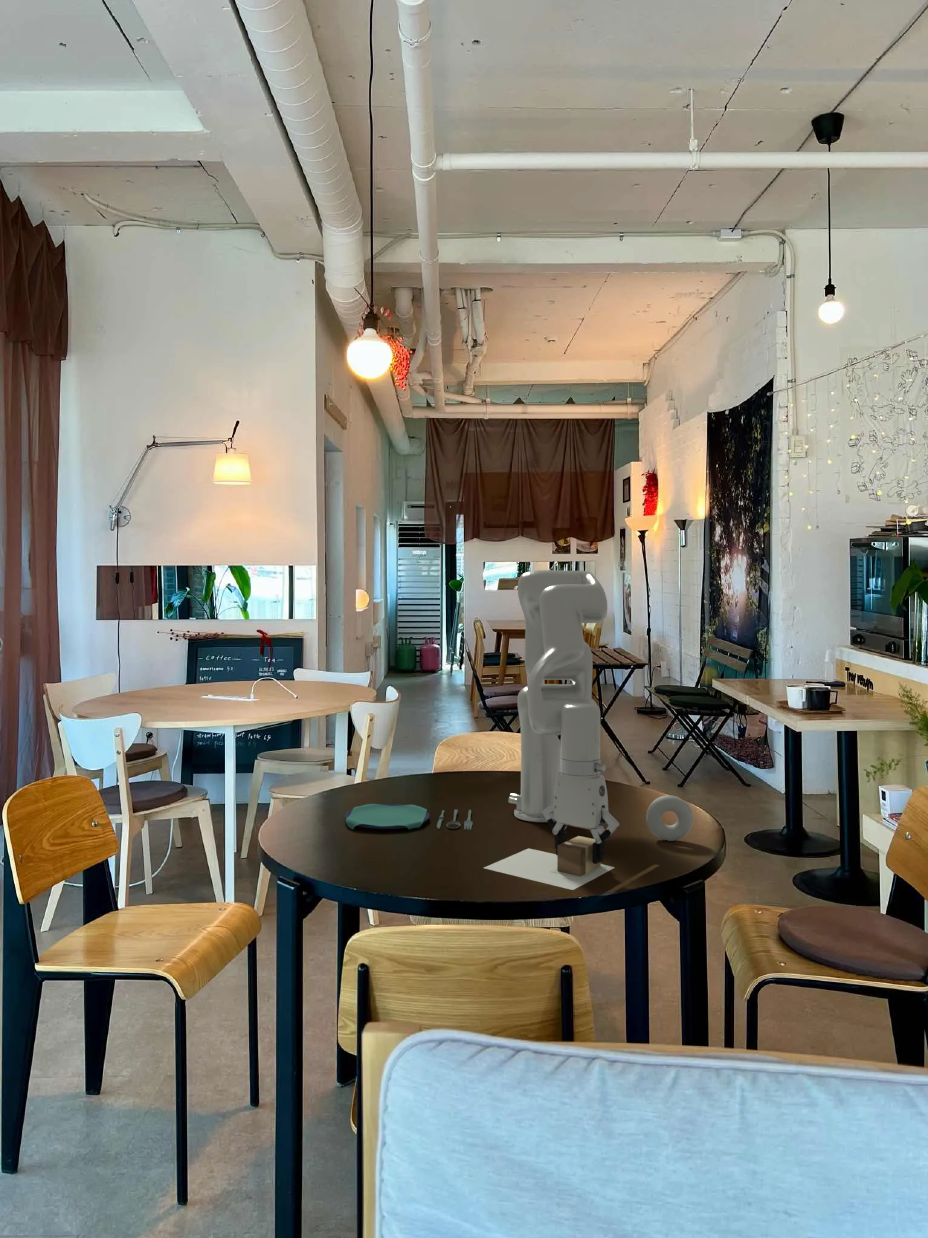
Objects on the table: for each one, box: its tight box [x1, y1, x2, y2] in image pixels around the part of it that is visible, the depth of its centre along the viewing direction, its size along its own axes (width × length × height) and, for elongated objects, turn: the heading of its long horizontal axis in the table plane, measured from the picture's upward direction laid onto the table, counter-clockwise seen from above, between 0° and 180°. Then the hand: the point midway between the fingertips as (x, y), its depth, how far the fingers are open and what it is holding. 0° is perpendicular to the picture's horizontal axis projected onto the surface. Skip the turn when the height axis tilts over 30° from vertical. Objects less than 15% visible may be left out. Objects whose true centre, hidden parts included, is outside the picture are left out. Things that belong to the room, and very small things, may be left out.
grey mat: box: [483, 847, 615, 891], centre depth 171 cm, size 20×16×1 cm
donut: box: [645, 794, 694, 842], centre depth 191 cm, size 10×4×10 cm, turn 80°
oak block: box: [557, 835, 602, 876], centre depth 171 cm, size 8×5×5 cm, turn 143°
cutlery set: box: [344, 803, 474, 831], centre depth 206 cm, size 20×30×2 cm, turn 87°
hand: (579, 857), depth 171 cm, fingers open, 7 cm apart
